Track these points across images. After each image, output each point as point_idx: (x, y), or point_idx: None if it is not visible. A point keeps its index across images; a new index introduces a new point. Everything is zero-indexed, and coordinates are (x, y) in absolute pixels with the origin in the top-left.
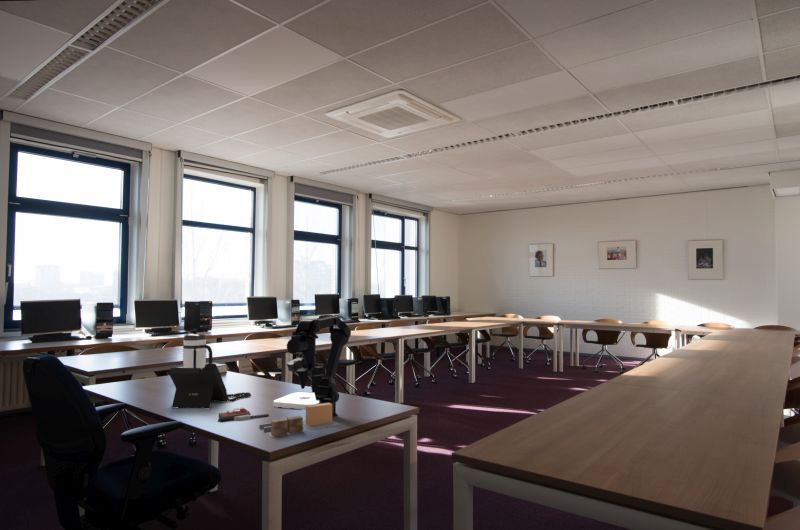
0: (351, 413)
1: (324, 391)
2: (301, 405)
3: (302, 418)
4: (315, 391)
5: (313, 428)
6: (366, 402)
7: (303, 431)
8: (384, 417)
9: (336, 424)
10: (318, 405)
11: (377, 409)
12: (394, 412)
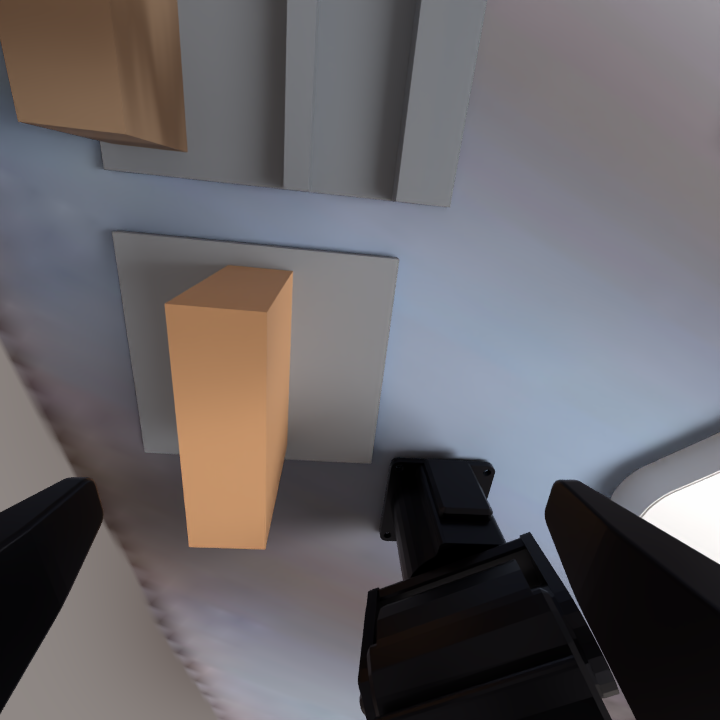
0: (367, 596)
1: (411, 652)
2: (710, 465)
3: (25, 119)
4: (529, 599)
5: (136, 257)
6: None
7: (100, 145)
8: (187, 660)
9: (155, 433)
10: (207, 432)
11: (344, 693)
12: (244, 714)
